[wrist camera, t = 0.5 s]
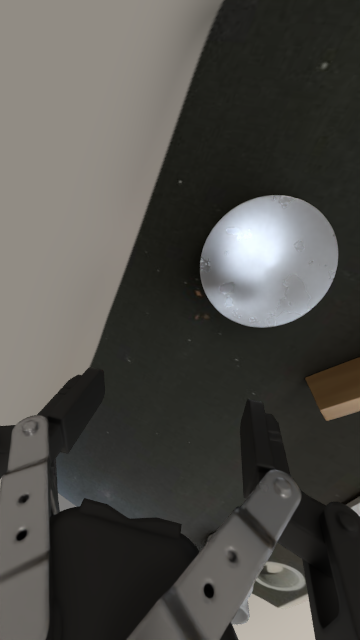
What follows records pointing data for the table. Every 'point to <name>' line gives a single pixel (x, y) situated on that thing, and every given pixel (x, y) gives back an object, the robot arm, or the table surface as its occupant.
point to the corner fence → (337, 389)
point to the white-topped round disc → (269, 261)
